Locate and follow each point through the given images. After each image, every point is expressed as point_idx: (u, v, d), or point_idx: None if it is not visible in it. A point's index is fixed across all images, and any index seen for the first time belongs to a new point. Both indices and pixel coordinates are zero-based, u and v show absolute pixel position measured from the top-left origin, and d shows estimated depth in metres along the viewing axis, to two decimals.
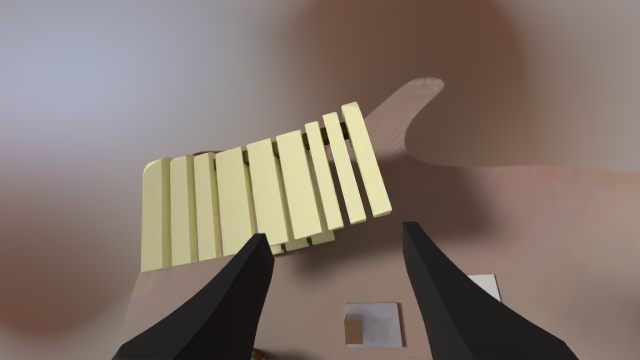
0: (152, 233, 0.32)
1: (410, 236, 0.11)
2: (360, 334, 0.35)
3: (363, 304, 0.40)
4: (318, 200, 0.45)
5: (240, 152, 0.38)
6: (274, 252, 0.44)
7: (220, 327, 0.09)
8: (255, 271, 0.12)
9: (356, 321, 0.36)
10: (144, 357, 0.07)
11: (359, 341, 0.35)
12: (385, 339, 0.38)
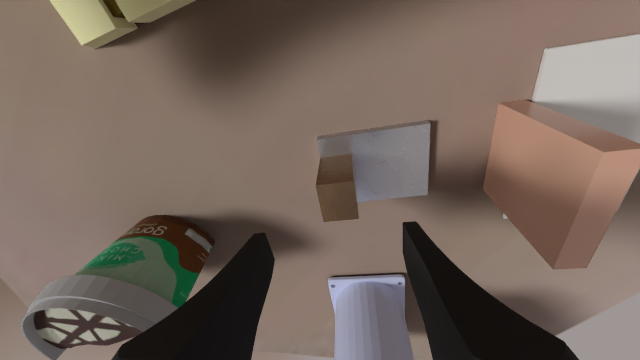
0: None
1: (410, 236, 0.11)
2: (352, 204, 0.17)
3: (355, 135, 0.18)
4: None
5: None
6: (97, 32, 0.15)
7: (220, 327, 0.09)
8: (255, 271, 0.12)
9: (343, 184, 0.16)
10: (144, 357, 0.07)
11: (350, 216, 0.17)
12: (397, 187, 0.20)
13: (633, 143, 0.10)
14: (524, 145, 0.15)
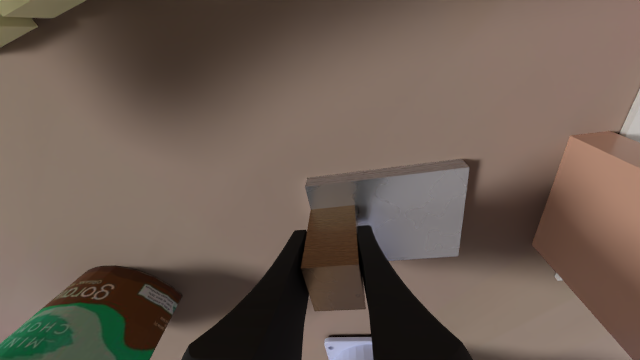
0: None
1: (359, 239, 0.11)
2: (357, 293, 0.11)
3: (359, 181, 0.13)
4: None
5: None
6: None
7: (280, 326, 0.08)
8: None
9: (342, 268, 0.10)
10: (219, 357, 0.06)
11: (353, 306, 0.12)
12: (417, 246, 0.15)
13: None
14: (626, 208, 0.10)
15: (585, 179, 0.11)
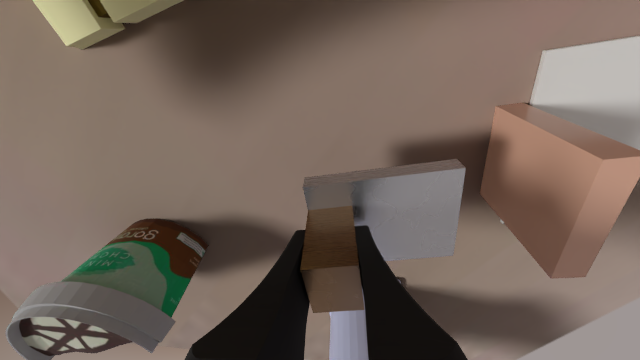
0: None
1: (356, 240, 0.11)
2: (356, 294, 0.11)
3: (357, 182, 0.13)
4: None
5: None
6: (82, 32, 0.15)
7: (283, 326, 0.08)
8: None
9: (342, 269, 0.10)
10: (223, 357, 0.06)
11: (352, 307, 0.12)
12: (413, 246, 0.15)
13: (634, 150, 0.10)
14: (522, 149, 0.15)
15: (504, 135, 0.16)
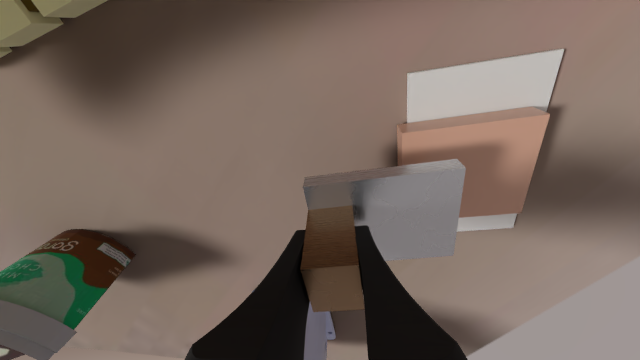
0: None
1: (356, 240, 0.11)
2: (356, 293, 0.11)
3: (358, 181, 0.13)
4: None
5: None
6: None
7: (283, 326, 0.08)
8: None
9: (342, 269, 0.10)
10: (223, 357, 0.06)
11: (352, 306, 0.12)
12: (413, 246, 0.15)
13: (524, 108, 0.15)
14: (460, 150, 0.16)
15: (427, 152, 0.16)
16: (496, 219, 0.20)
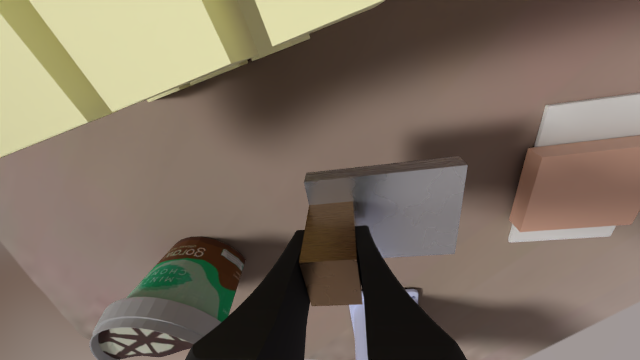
0: None
1: (356, 240, 0.11)
2: (354, 288, 0.11)
3: (358, 177, 0.13)
4: None
5: None
6: (163, 92, 0.17)
7: (283, 326, 0.08)
8: None
9: (340, 263, 0.10)
10: (223, 357, 0.06)
11: (350, 301, 0.12)
12: (414, 244, 0.15)
13: None
14: (590, 171, 0.18)
15: (560, 173, 0.18)
16: (596, 229, 0.22)
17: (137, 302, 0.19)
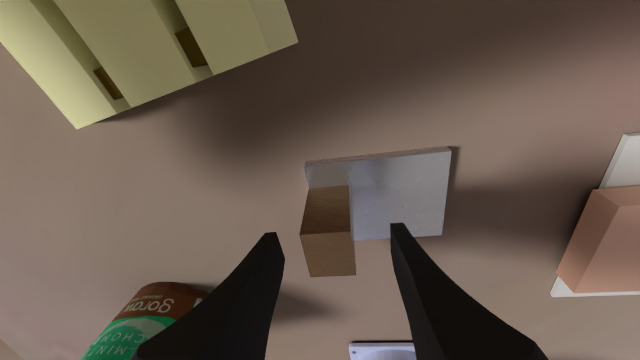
0: None
1: (396, 237, 0.11)
2: (348, 259, 0.12)
3: (353, 162, 0.14)
4: None
5: None
6: (95, 117, 0.13)
7: (236, 327, 0.09)
8: (267, 270, 0.12)
9: (336, 235, 0.12)
10: (163, 357, 0.07)
11: (345, 272, 0.13)
12: None
13: None
14: None
15: None
16: None
17: None
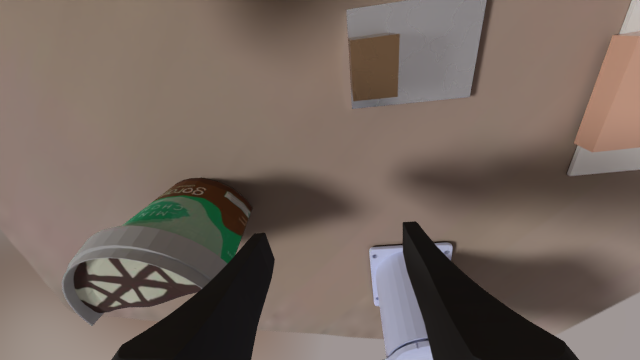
0: None
1: (410, 236, 0.11)
2: (393, 74, 0.13)
3: (394, 4, 0.15)
4: None
5: None
6: None
7: (219, 327, 0.09)
8: (255, 271, 0.12)
9: (385, 39, 0.12)
10: (144, 357, 0.07)
11: (387, 92, 0.14)
12: (435, 85, 0.17)
13: None
14: None
15: None
16: None
17: (120, 231, 0.16)
